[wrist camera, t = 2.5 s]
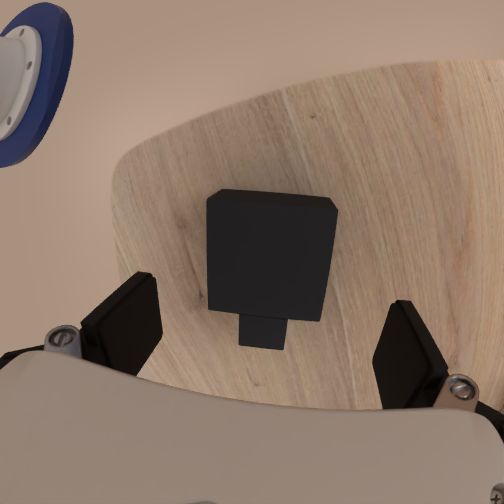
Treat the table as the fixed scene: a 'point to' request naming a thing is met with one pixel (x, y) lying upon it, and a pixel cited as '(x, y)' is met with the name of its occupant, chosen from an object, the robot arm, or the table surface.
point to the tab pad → (268, 260)
